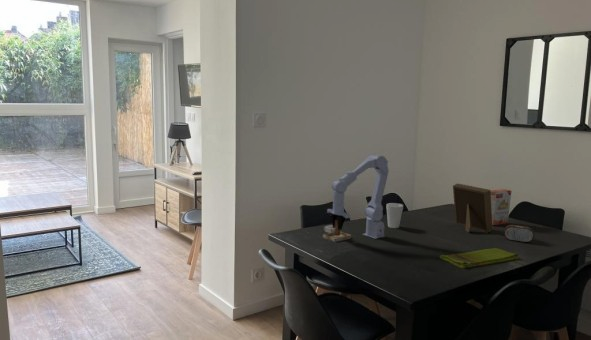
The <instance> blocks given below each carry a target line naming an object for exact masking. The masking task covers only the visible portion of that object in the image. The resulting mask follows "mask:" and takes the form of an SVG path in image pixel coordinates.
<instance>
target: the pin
mask: <svg viewBox="0 0 591 340" xmlns="http://www.w3.org/2000/svg"><path fill="white" fill-rule="evenodd" d="M340 232H341V231H340V230H338V222H337V220H335V233H334V235H335V236H340Z"/></svg>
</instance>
